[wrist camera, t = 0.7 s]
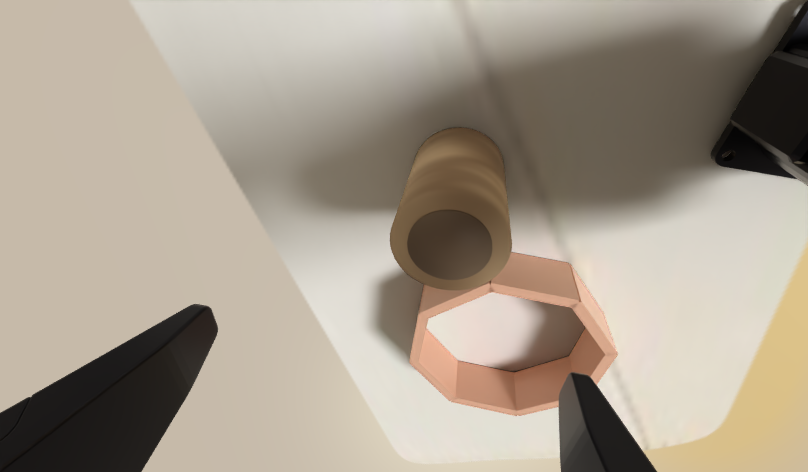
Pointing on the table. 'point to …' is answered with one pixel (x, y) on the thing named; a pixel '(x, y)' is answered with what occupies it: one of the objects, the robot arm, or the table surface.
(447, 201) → the oak tube
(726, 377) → the table surface
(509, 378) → the pink octagonal ring
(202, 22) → the table surface
